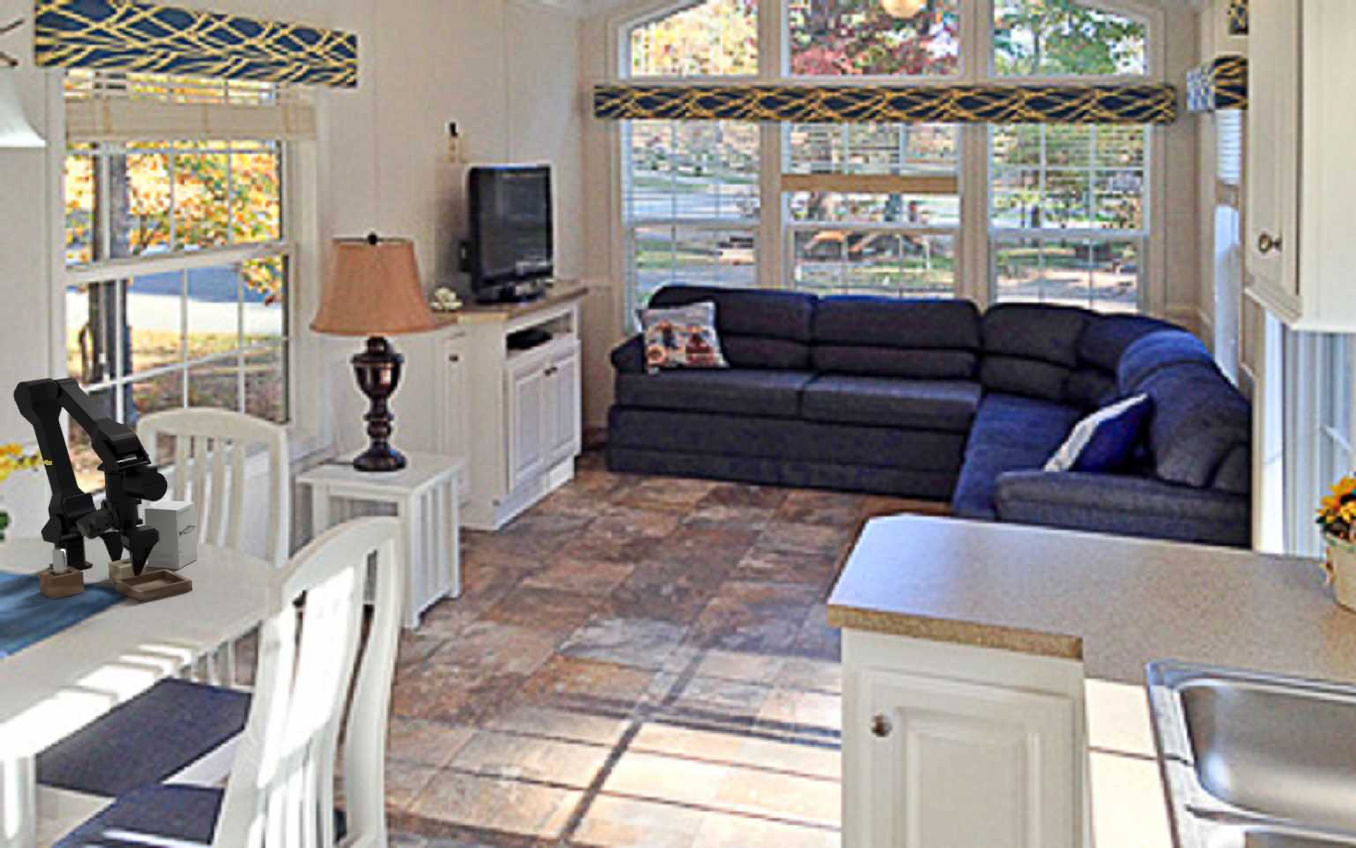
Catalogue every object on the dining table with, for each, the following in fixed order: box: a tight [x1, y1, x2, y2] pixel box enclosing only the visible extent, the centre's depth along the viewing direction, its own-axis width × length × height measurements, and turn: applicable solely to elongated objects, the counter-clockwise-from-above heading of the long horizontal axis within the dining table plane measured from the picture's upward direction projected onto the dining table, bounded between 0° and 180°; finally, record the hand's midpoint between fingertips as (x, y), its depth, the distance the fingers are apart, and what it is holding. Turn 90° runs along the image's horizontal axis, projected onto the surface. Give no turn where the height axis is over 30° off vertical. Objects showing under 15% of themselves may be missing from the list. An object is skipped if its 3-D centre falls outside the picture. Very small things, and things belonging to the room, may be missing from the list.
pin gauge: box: [51, 548, 68, 576], centre depth 260 cm, size 2×2×8 cm
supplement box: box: [144, 500, 198, 570], centre depth 278 cm, size 7×7×13 cm
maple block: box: [107, 557, 146, 584], centre depth 267 cm, size 5×5×4 cm
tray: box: [113, 568, 193, 603], centre depth 262 cm, size 11×11×2 cm
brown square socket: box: [38, 566, 85, 600], centre depth 260 cm, size 6×6×4 cm
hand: (126, 570), depth 267 cm, fingers open, 9 cm apart
